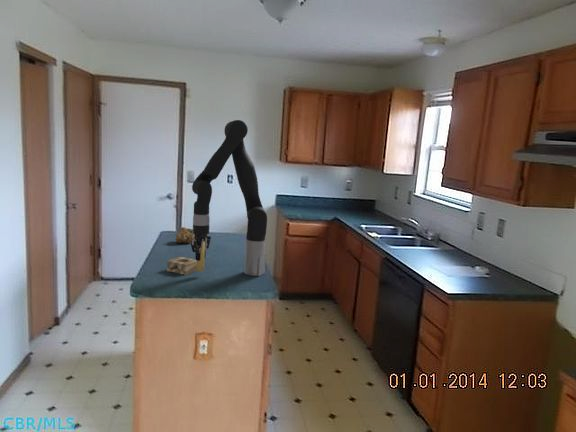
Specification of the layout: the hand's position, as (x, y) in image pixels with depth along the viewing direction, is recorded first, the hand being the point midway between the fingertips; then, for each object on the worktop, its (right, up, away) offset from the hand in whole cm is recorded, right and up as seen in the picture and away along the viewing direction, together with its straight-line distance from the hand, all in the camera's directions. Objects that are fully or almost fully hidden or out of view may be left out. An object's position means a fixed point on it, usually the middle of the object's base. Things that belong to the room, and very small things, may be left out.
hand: (200, 259), depth 209 cm
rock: (-22, +3, +63) cm, 67 cm away
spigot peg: (0, -5, +1) cm, 5 cm away
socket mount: (-11, -7, +7) cm, 15 cm away
